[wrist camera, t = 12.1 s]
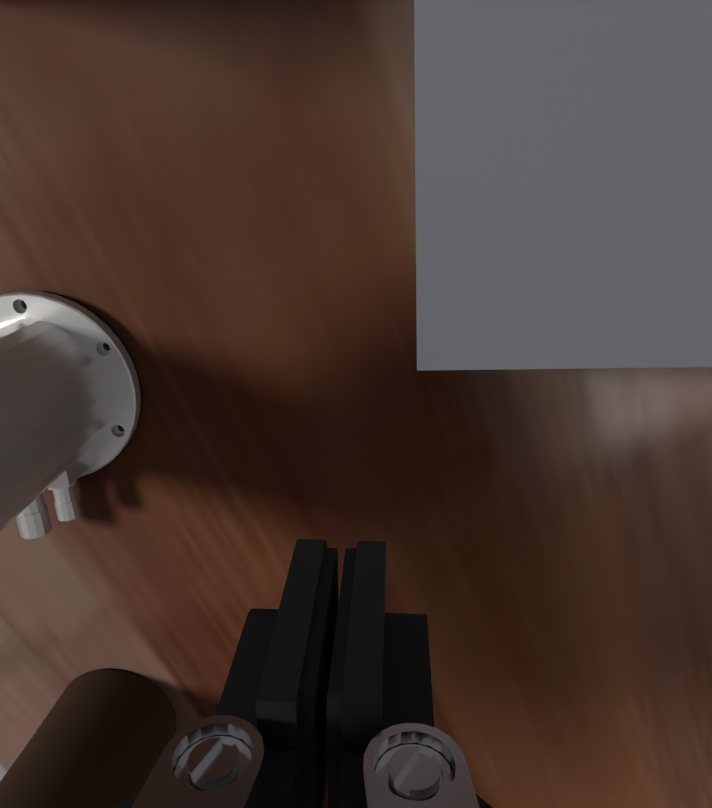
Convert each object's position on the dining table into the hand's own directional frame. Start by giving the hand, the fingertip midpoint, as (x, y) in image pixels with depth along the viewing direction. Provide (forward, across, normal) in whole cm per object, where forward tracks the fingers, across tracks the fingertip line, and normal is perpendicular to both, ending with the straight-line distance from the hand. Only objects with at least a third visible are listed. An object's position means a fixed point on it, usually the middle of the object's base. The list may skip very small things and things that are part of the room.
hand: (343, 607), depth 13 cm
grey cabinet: (+29, -12, -7) cm, 32 cm away
